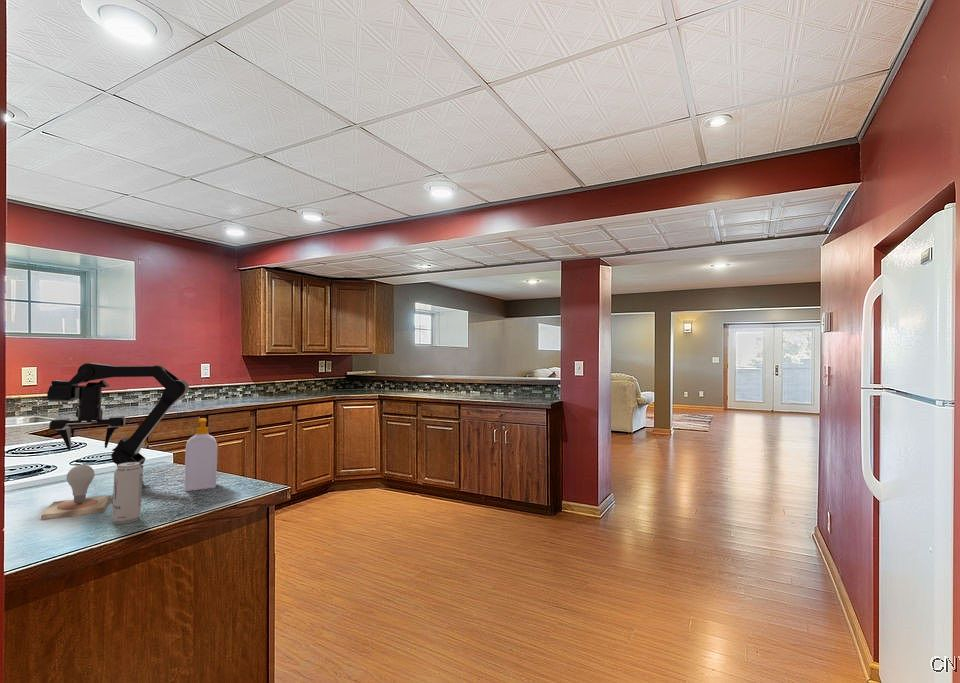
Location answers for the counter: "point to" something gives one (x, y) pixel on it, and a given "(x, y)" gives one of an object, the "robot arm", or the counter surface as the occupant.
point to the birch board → (75, 507)
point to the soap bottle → (200, 460)
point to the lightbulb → (80, 481)
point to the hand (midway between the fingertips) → (87, 449)
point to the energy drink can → (127, 492)
